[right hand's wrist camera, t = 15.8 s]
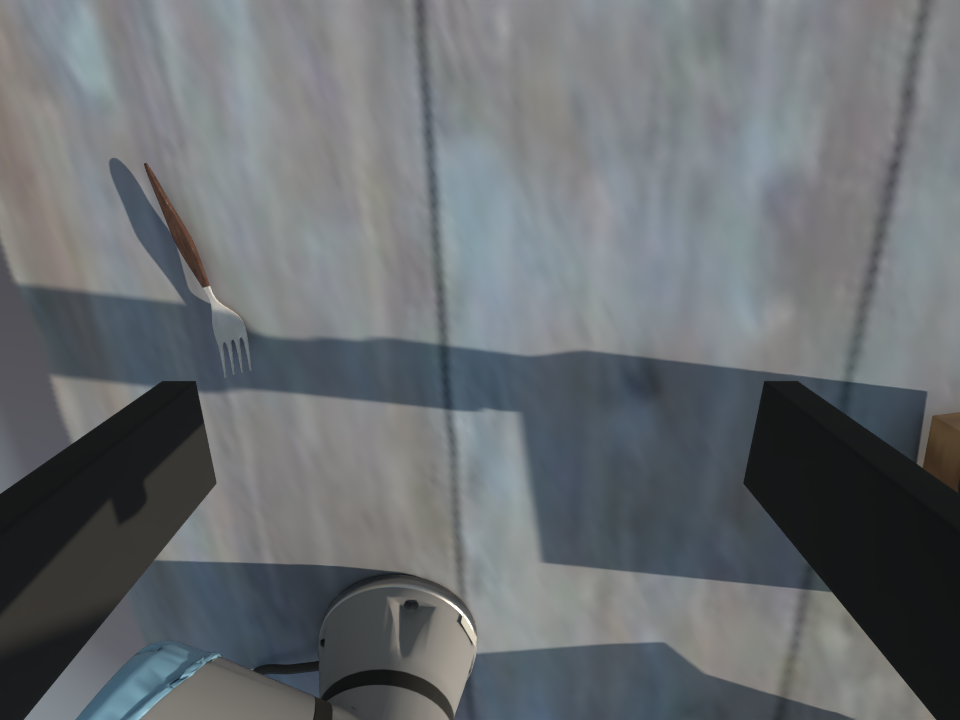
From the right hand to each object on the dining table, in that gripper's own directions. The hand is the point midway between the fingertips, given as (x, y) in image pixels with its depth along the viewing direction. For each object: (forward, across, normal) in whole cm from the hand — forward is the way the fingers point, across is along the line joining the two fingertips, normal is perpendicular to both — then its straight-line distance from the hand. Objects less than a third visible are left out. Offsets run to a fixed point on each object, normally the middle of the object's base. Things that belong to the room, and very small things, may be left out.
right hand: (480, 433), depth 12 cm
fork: (+29, +21, +2) cm, 36 cm away
